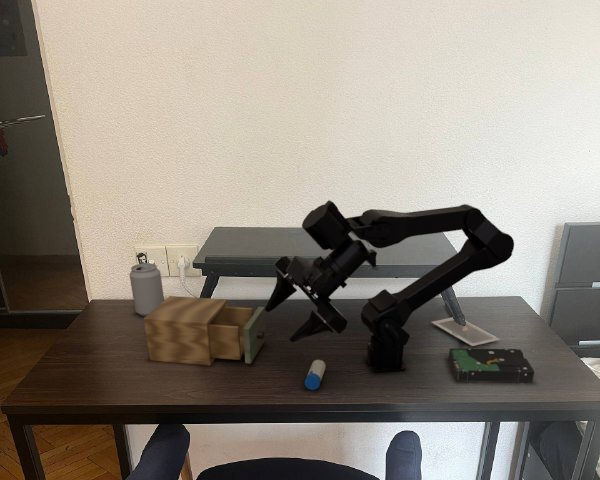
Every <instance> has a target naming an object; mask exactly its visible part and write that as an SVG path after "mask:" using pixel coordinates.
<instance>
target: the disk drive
mask: <svg viewBox="0 0 600 480" xmlns="http://www.w3.org/2000/svg"><path fill="white" fill-rule="evenodd" d="M448 361H449V364H450V367H451V368H452V371H453V374H454V376H455V379H456V381H459V382H475V383H476V382H481V383H482V382H483V383H485V382H486V383H487V382H488V383H490V382H491V383H492V382H493V383H529V382H531V383H533V381H534V376H535V370H534V368H533V367H532V366H531V363H530V362H529V361H528V359H527V358H525V356H524V353H523V350H522V349H519V348H518V349H517V348H507V349H506V348H463V347H462V348H449V351H448Z"/></svg>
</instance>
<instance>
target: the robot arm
mask: <svg viewBox="0 0 600 480" xmlns="http://www.w3.org/2000/svg"><path fill="white" fill-rule="evenodd" d="M301 228H302V229H303V230H304V231H305V233H307V234H308V236H309V237H310V238H311V239H312V240H313V241H314V242H315V243H316V244H317V245H318V246H319V247H320V249H321V250H322V251H326V250H331V251H330V252H329V253H328V254H327V255H326V256H325V257H324V258H323V257H322V256H321V255H320V256H318V257H316V258H315V259H314V260H311V259H309V258H305V257H302V256H299V255H293V258H292V260H291V259H290V258H289V257H288V256H287V255H285V256H280V257H279V259H277V260H276V262H274V266H275V267H276V268H277V269H274V270H275V271H274V272H275V274H276V283H275V285H274V289H273V291H272V293H271V295H270V297H269V299H268V302H267V303H266V305H265V306H264V311H266V312H267V313H269V312H271V311H273V310H274V309H277V308H278V306H280V305H281V304H282V303H283V302H285V301H286V300H287V299H288V298H290V297H291V296H292V295H294V294H295V293H296V292H298V289H297V288H296V287H298V288H299V289H300V290H301V291H302V292H303V293H304V294H305V295H306V296H307V298H308V299H309V300H310V301H311V302H312V304H314V305H315V306H316V312H317V313H316V312H315V311H314V310H313V309H312V310H311V312H310V314H309V318H308V319H307V320H306V321H305V322H304V323H303V324H302V325H301V326H300V327H299V328H298V329H297V330H296V331H295V332H294V333H293V334H292V335H291V336H290V338H289V341H290V342H292V343H295V342H298V341H301V340H304V339H306V338H309V337H311V336H314V335H318V334H322V333H326V332H330V333H331V334H333V333H334V331H335V332H336V333H337V334H338V335H341V334H342V333H343V331H344V330H346V329H347V325H348V321H349V320H347V319H346V317H344V315H343V314H342V313H341V312H340V311H339V309H337V308H336V307H335V306H334V305H333V304H332V303H331V301H332V299H331V298H330V297H331V296H332V295H333V294H334V293H335V292H336V291H337V290H338V289H339V288H340V287H342V289H345V288H346V287H347V286H348V283H347V282H346V281H347V280H348V279H349V278H350V277H351V276H353V274H354V273H355V272H356V271H357V270H358V269H359V268H361V266H362V265H363V264H364V263H365V262H366V263H367V264H369V265H370V266H371V267H372V268H376V267H377V254H378V252H377V251H376V250H374V249H373V248H370V249H369V248H368V247H367V246H366V245H365V244H364V242H363V241H365V242H366V243H368V244H369V245H370V246H372V247H374V248H375V249H385V248H388V247H391V246H394V245H398V244H400V243H402V242H403V241H404V240H406V239H408V238H412V237H418V236H426V235H432V234H441V233H447V232H455V231H462V232H463V234H464V235H465V237H467V239H466V240H465V242H464V243H463V245H462V246H461V248H460V250H459V251H458V252H457V253H455V254H454V255H452V256H451V257H449V258H448V259H446V260H445V261H443V262H442V263H441V264H439V265H437V266H436V267H434V268H433V269H432V270H430V271H429V272H427V273H425V274H424V275H422V276H421V277H420V278H419V277H418V279H416V280H414V281H413V282H412V283H410V284H409V285H407V286H406V287H404V288H402V289H401V290H400V291H397V292H393V293H390V291H388V290H387V289H385V288H384V289H382V290H381V291H379V292H378V293H377V294H376V295H374V296H372V297H370V298H369V297H368V298H367V301H368V302H367V303H365V304H364V305H363V306H362V308H361V312H360V319H361V322H362V324H364V326H365V327H366V328H367V329H368V331H369V332H370V333H371V334H372V335H370V340H369V341H370V342H368V343H367V348H366V349H367V351H366V362H367V363H368V365H369V367H370V369H371V370H372V371H373V373H386V372H387V373H390V372H401V371H402V372H403V371H405V370H406V369H405V365H403V359H404V348H405V346H406V345H407V344H408V342H409V339H410V337H411V335H410V334H409V333H408V332H407V331H406V330H405V329H404V327H405V325H406V324H407V322H408V320H409V318H410V317H411V315H412V313H414V312H416V310H418V309H419V308H422V307H423V306H424V305H425V304H427V303H429V302H430V301H431V300H433V299H434V298H436V297H437V296H439V295H441V294H442V293H443V292H445V291H447V290H448V289H449V288H451V287H453V286H454V285H456V284H458V283H459V282H460V281H462V280H464V279H465V278H467V277H468V276H469V275H471V274H473V273H475V272H479V271H484V270H490V269H492V268H494V267H498V266H499V265H501V264H504V263H505V262H507V261H508V260H509V259H511V257H512V256H513V252H514V248H515V240H514V239H513V237H512V236H511V234H509V233H506V232H504V231H502V230H501V229H499V228H498V227H497V226H496V225H495V224H494V223H492V222H491V221H490V220H489V219H488V218H487V217H486V216H485V214H484V213H483V212H482V210H481V209H479V208H477V207H475V206H472V205H470V204H467V203H463V204H461V205H457V206H450V207H441V208H434V209H424V210H416V211H409V212H401V211H394V210H388V209H376V208H371V209H367V210H364V211H363V212H362V214H361V215H357V216H351V217H345V216H344V215H343V214H342V213H341V212H340V210H339V207H338V206H337V205H336V204H335V203H334V202H333V201H332V200H330V199H329V200H327V201H325V203H324V204H321V205H319V206H318V207H316V208H315V209H312V210H311V211H309V213H308V214H307V215H306V216H305V218H304V219H303V221H302V223H301ZM350 234H352V235H353V236H355V237H356V238H358V239H353V238H352V237H351V236H350ZM295 286H296V287H295ZM308 287H309V288H310V289H308Z"/></svg>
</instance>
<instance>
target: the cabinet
mask: <svg viewBox="0 0 600 480" xmlns="http://www.w3.org/2000/svg"><path fill="white" fill-rule="evenodd" d="M224 306H226V307H228V299H223V298H207V297H193V296H192V297H191V296H178V295H169V296H168V297H166V298H164V301H163V302H162V303H161V304H160V305H159V306H157V307H156V308H155V309H154V310H153V311H152V312H151V313H150V314H148V315H147V316H144V318H143V324H144V329H145V335H146V342H147V343H146V344H147V349H148V354H149V355H148V356H149V360H150V361H156V362H164V363H165V362H166V363H177V364H178V363H179V364H189V365H201V366H211V365H212V364H213V363H214V361H215V360H216V358H211V354H210V344H209V334H208V324H209V323H210V322H211V321H212V320H213V319H214V317H215V316H216V315H217V314H218V313H219V312H220V311H221V309H222V308H223V307H224Z"/></svg>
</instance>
